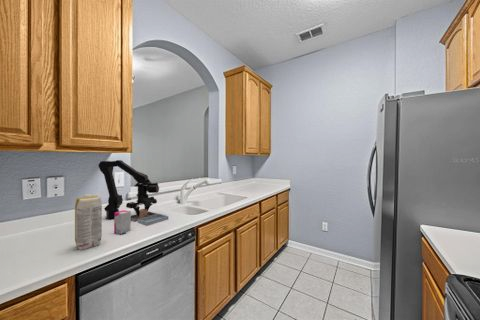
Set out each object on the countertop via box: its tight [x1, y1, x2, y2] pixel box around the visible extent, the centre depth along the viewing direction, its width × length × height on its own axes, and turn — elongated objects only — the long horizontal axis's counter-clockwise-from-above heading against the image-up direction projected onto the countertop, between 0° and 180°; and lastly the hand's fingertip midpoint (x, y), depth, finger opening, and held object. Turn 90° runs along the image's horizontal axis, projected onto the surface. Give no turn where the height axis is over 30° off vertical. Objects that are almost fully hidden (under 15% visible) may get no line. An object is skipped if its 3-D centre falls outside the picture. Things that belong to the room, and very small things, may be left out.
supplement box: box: [113, 210, 132, 236], centre depth 106 cm, size 6×6×12 cm
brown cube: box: [137, 208, 149, 218], centre depth 131 cm, size 5×5×5 cm
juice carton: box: [74, 193, 103, 251], centre depth 90 cm, size 9×8×24 cm
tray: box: [137, 213, 169, 227], centre depth 124 cm, size 15×10×2 cm
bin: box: [131, 210, 157, 222], centre depth 131 cm, size 15×10×2 cm
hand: (142, 215), depth 131 cm, fingers closed on brown cube, 5 cm apart
